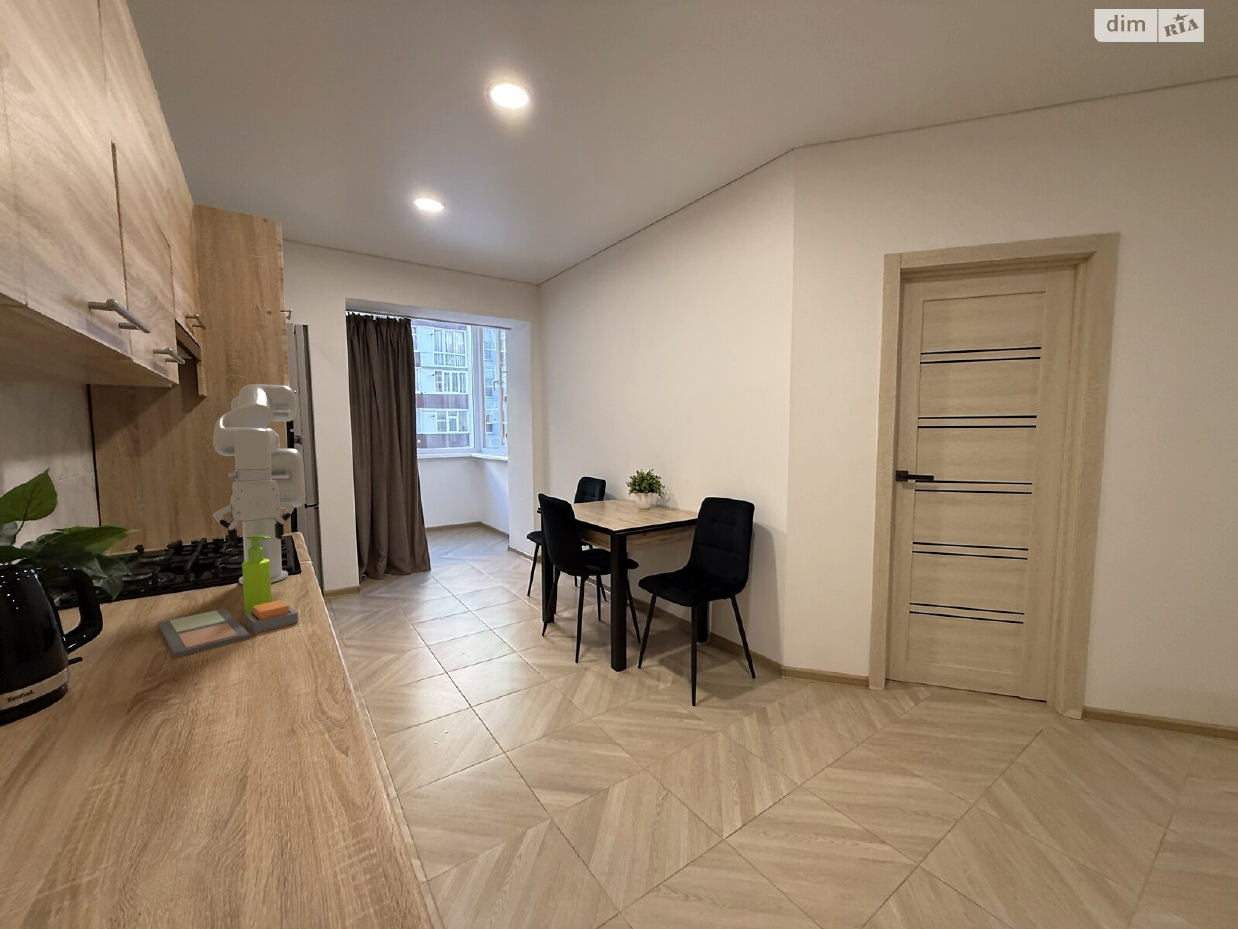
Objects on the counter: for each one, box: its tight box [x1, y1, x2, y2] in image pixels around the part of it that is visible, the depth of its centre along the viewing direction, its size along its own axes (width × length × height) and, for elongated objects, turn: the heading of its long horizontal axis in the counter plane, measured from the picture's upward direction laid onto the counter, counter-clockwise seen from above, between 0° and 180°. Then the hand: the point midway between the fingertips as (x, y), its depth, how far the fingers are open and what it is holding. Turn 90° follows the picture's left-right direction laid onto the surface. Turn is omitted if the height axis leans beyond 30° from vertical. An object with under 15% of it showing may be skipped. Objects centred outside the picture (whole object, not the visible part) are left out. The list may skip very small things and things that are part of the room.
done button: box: [253, 599, 290, 620], centre depth 125 cm, size 6×6×2 cm
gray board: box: [157, 608, 251, 658], centre depth 119 cm, size 24×13×1 cm, turn 48°
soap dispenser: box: [241, 535, 273, 613], centre depth 132 cm, size 6×7×20 cm
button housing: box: [243, 604, 299, 634], centre depth 125 cm, size 9×9×2 cm
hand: (257, 541), depth 131 cm, fingers open, 9 cm apart
